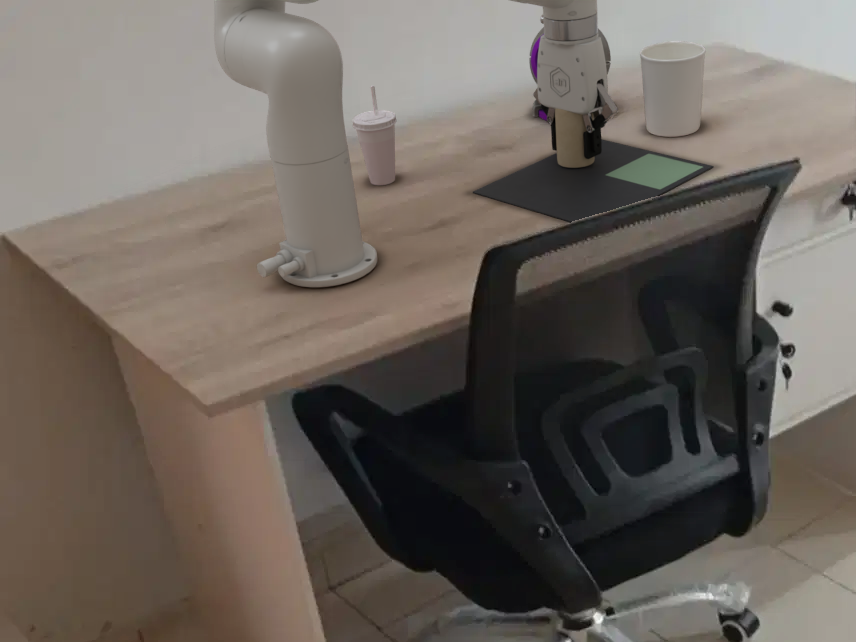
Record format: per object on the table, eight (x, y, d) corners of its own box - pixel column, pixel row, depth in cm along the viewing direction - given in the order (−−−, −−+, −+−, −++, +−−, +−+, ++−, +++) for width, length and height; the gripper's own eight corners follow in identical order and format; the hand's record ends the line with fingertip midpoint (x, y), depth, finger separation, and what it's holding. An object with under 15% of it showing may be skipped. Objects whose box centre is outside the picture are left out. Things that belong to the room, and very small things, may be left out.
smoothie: (413, 177, 184) (401, 84, 177) (381, 191, 181) (367, 97, 173) (384, 169, 188) (371, 77, 181) (352, 183, 185) (337, 90, 177)
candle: (601, 158, 184) (599, 91, 179) (583, 170, 180) (580, 102, 175) (569, 153, 187) (566, 87, 182) (550, 165, 183) (547, 98, 178)
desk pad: (594, 229, 163) (594, 228, 163) (472, 192, 177) (472, 191, 177) (713, 167, 178) (713, 165, 178) (591, 137, 192) (591, 136, 192)
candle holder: (703, 138, 188) (703, 59, 182) (638, 139, 190) (636, 61, 184) (707, 116, 196) (707, 40, 190) (644, 117, 198) (643, 41, 192)
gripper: (508, 25, 176) (517, 148, 186) (600, 42, 166) (605, 171, 175) (543, 13, 181) (551, 133, 190) (636, 28, 170) (638, 155, 180)
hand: (576, 150), depth 183 cm, fingers closed on candle, 5 cm apart
